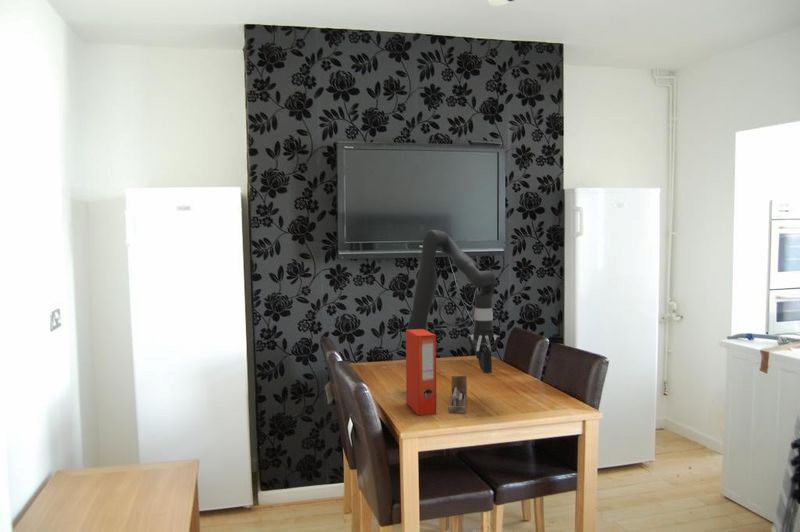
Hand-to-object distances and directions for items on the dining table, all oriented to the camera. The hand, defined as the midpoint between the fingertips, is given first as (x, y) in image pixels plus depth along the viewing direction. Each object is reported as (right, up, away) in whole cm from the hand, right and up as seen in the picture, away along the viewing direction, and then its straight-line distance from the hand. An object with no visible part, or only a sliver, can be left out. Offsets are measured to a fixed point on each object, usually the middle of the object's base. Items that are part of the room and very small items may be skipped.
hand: (483, 359), depth 238 cm
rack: (-10, -20, +2) cm, 22 cm away
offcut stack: (-10, -20, +2) cm, 23 cm away
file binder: (-26, -20, -1) cm, 33 cm away
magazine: (0, -4, 0) cm, 4 cm away
